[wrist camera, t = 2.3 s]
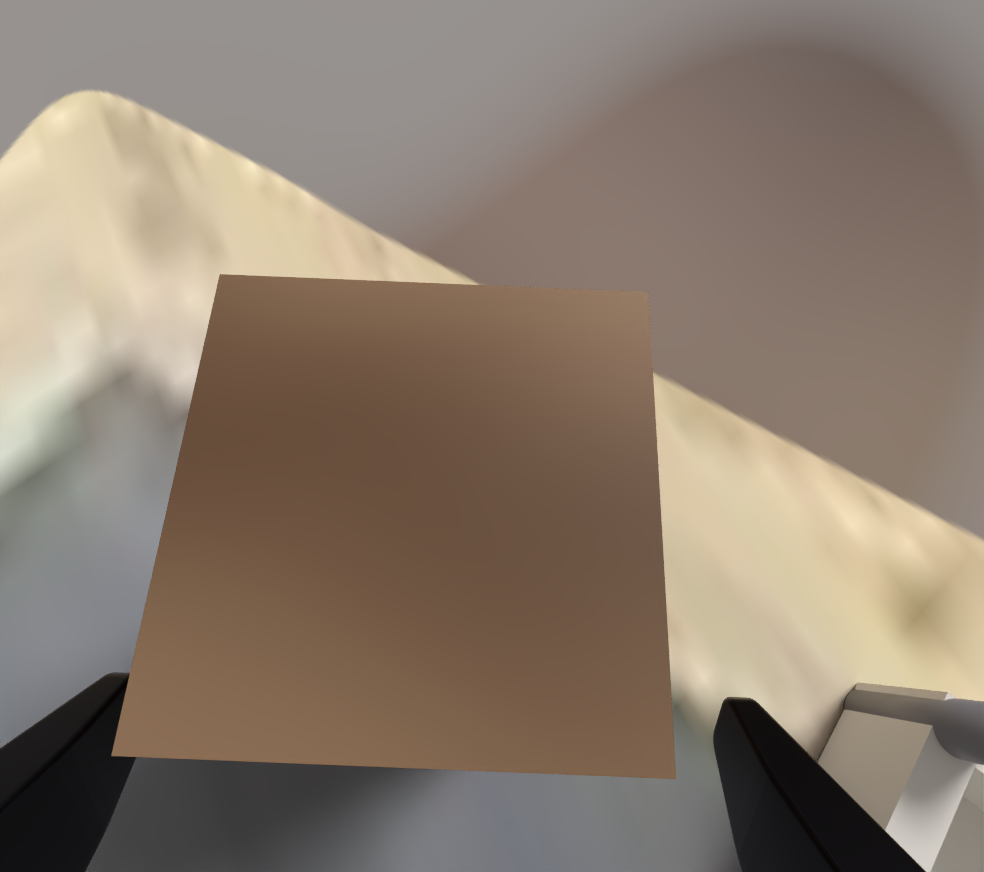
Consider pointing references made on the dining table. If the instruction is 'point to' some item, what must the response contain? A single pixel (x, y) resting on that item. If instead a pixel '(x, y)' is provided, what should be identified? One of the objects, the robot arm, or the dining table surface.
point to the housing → (915, 770)
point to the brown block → (412, 536)
